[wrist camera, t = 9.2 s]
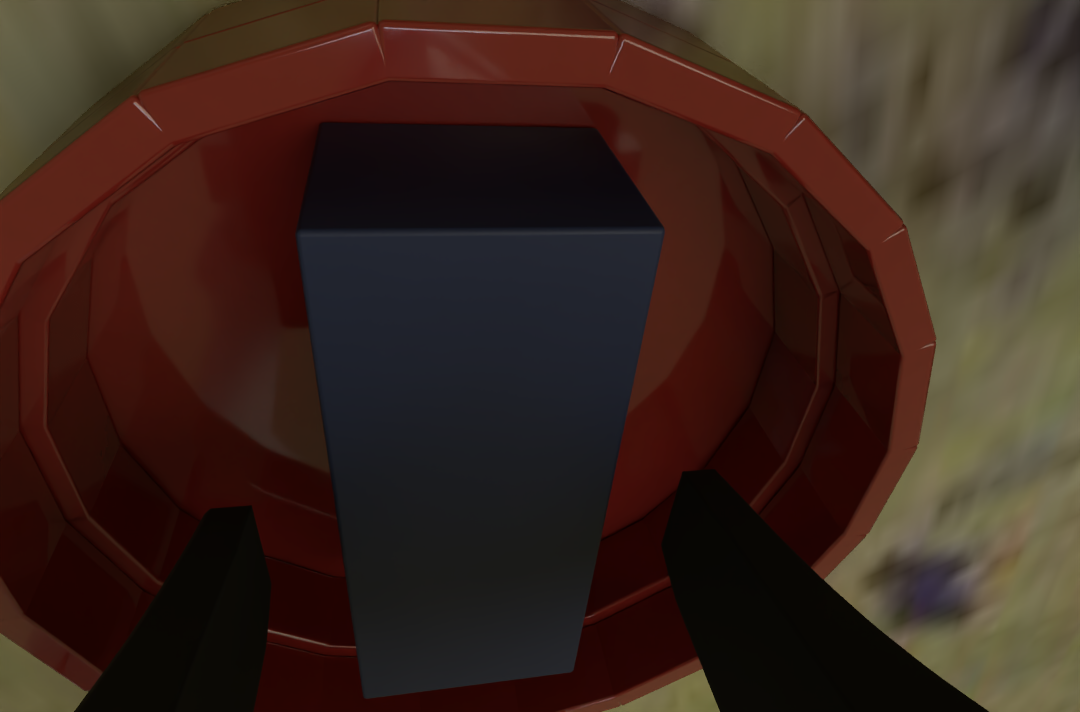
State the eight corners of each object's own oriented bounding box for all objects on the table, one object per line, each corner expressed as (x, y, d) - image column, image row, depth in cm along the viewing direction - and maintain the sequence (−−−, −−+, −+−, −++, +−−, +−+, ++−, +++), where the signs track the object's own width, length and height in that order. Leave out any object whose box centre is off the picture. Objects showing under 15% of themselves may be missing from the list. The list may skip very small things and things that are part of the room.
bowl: (712, 555, 21) (775, 699, 18) (160, 611, 18) (107, 796, 15) (921, -13, 12) (1142, 56, 8) (-143, -84, 9) (-479, -23, 6)
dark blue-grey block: (544, 536, 18) (574, 673, 15) (367, 553, 18) (362, 700, 15) (598, 126, 12) (668, 228, 9) (318, 120, 11) (293, 231, 8)
